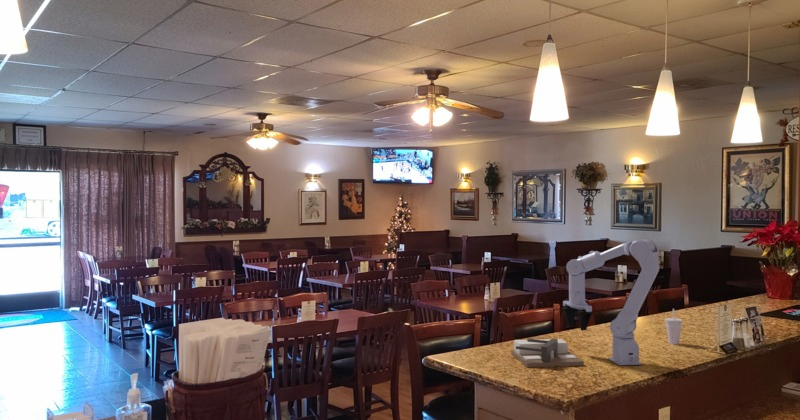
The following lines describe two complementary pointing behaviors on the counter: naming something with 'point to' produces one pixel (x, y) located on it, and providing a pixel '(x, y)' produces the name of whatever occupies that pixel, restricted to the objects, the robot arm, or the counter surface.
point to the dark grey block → (543, 348)
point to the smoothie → (673, 329)
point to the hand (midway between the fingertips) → (577, 328)
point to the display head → (534, 357)
